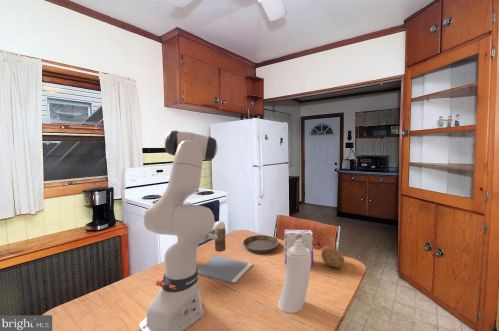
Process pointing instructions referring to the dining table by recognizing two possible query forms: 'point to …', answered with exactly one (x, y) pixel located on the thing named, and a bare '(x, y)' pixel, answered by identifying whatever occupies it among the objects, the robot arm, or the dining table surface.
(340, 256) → the potato
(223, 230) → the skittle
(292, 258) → the spray can
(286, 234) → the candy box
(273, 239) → the plant saucer
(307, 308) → the dining table surface
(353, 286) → the dining table surface
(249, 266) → the mat
